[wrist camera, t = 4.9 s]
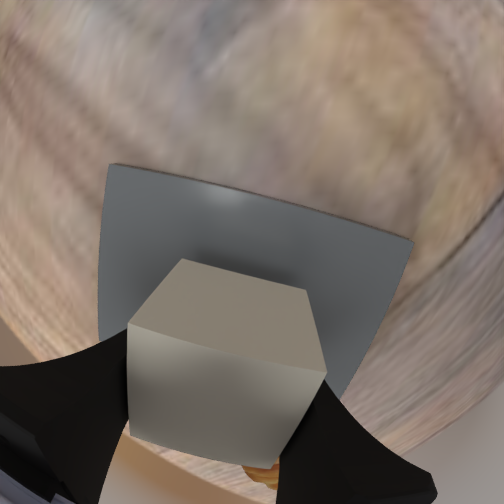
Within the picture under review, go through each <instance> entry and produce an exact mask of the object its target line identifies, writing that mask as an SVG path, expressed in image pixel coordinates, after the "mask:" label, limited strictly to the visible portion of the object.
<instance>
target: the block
mask: <svg viewBox="0 0 504 504" xmlns="http://www.w3.org/2000/svg"><path fill="white" fill-rule="evenodd" d="M326 374H327V369H326V365H325V361H324V357H323V353H322V349H321V345H320V341H319V337H318V333H317V329H316V325H315V321H314V318H313V314H312V310H311V306H310V302H309V299H308V295H307V291H306V290H304V289H300V288H296V287H292V286H288V285H284V284H280V283H276V282H272V281H268V280H264V279H260V278H256V277H252V276H248V275H244V274H240V273H236V272H232V271H228V270H224V269H220V268H217V267H213V266H209V265H205V264H201V263H198V262H194V261H190V260H186V259H183V258H182V259H181V260H180V261H179V262H178V263H177V264H176V266H175V267H174V268H173V269H172V270H171V271H170V273H169V274H168V275H167V276H166V277H165V278H164V280H163V281H162V282H161V283H160V284H159V286H158V287H157V288H156V289H155V290H154V291H153V293H152V294H151V295H150V296H149V297H148V299H147V300H146V301H145V302H144V304H143V305H142V306H141V307H140V308H139V310H138V311H137V312H136V313H135V314H134V316H133V317H132V318H131V319H130V321H129V322H128V328H127V393H128V414H129V429H130V435H131V436H134V437H136V438H139V439H142V440H145V441H148V442H151V443H154V444H157V445H160V446H163V447H166V448H170V449H173V450H176V451H180V452H184V453H187V454H191V455H195V456H199V457H203V458H208V459H212V460H217V461H221V462H226V463H232V464H237V465H243V466H249V467H256V468H263V469H271V467H272V466H273V464H274V463H275V461H276V460H277V458H278V457H279V455H280V454H281V452H282V451H283V449H284V448H285V446H286V444H287V443H288V441H289V440H290V438H291V436H292V435H293V433H294V431H295V430H296V428H297V426H298V425H299V423H300V421H301V420H302V418H303V416H304V414H305V413H306V411H307V409H308V407H309V406H310V404H311V402H312V400H313V398H314V397H315V395H316V393H317V391H318V389H319V387H320V385H321V384H322V382H323V380H324V378H325V376H326Z"/></svg>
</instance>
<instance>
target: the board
mask: <svg viewBox="0 0 504 504" xmlns="http://www.w3.org/2000/svg"><path fill="white" fill-rule="evenodd" d="M413 245H414V242H413V241H411V240H410V239H408V238H405V237H402V236H399V235H396V234H393V233H390V232H387V231H384V230H381V229H378V228H375V227H372V226H369V225H365V224H362V223H359V222H356V221H353V220H349V219H346V218H343V217H339V216H336V215H333V214H329V213H326V212H322V211H319V210H315V209H312V208H308V207H305V206H301V205H298V204H294V203H290V202H287V201H283V200H279V199H275V198H272V197H268V196H264V195H260V194H256V193H252V192H248V191H244V190H240V189H236V188H232V187H228V186H223V185H219V184H215V183H210V182H206V181H202V180H197V179H193V178H188V177H183V176H179V175H174V174H169V173H164V172H159V171H154V170H149V169H144V168H139V167H133V166H128V165H122V164H117V163H115V164H109V167H108V174H107V180H106V187H105V195H104V203H103V211H102V221H101V232H100V246H99V265H98V331H99V341H104V340H106V339H108V338H110V337H112V336H114V335H116V334H117V333H119V332H121V331H123V330H124V329H126V328H128V322H129V321H130V319H131V318H132V317H133V316H134V314H135V313H136V312H137V311H138V310H139V308H140V307H141V306H142V305H143V304H144V302H145V301H146V300H147V299H148V297H149V296H150V295H151V294H152V293H153V291H154V290H155V289H156V288H157V287H158V286H159V284H160V283H161V282H162V281H163V280H164V278H165V277H166V276H167V275H168V274H169V273H170V271H171V270H172V269H173V268H174V267H175V266H176V264H177V263H178V262H179V261H180V260H181V259H182V258H183V259H186V260H190V261H194V262H198V263H201V264H205V265H209V266H213V267H217V268H220V269H224V270H228V271H232V272H236V273H240V274H244V275H248V276H252V277H256V278H260V279H264V280H268V281H272V282H276V283H280V284H284V285H288V286H292V287H296V288H300V289H304V290H306V291H307V295H308V299H309V302H310V306H311V310H312V314H313V318H314V321H315V325H316V329H317V333H318V337H319V341H320V345H321V349H322V353H323V357H324V361H325V365H326V369H327V374H326V376H325V378H324V379H325V381H326V382H327V384H328V385H329V387H330V388H331V390H332V391H333V392H334V394H335V395H336V396H337V398H338V399H339V400H340V398H341V396H342V395H343V393H344V391H345V390H346V388H347V386H348V385H349V383H350V381H351V379H352V378H353V376H354V374H355V372H356V371H357V369H358V367H359V365H360V363H361V361H362V360H363V358H364V356H365V354H366V352H367V350H368V348H369V346H370V344H371V342H372V340H373V338H374V336H375V334H376V332H377V330H378V328H379V326H380V324H381V322H382V320H383V318H384V316H385V314H386V311H387V309H388V307H389V305H390V303H391V300H392V298H393V296H394V293H395V291H396V289H397V286H398V284H399V281H400V279H401V277H402V274H403V272H404V269H405V266H406V264H407V261H408V259H409V256H410V253H411V251H412V248H413Z"/></svg>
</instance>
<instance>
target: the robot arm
mask: <svg viewBox="0 0 504 504" xmlns="http://www.w3.org/2000/svg"><path fill="white" fill-rule="evenodd" d="M128 419H129V414H128V393H127V328H126V329H124V330H123V331H121V332H119V333H117V334H116V335H114V336H112V337H110V338H108V339H106V340H104V341H102V342H100V343H98V344H96V345H94V346H92V347H90V348H87V349H85V350H82V351H80V352H77V353H74V354H71V355H68V356H65V357H61V358H57V359H53V360H49V361H45V362H41V363H35V364H28V365H20V366H3V367H2V366H0V504H98V502H99V498H100V494H101V491H102V487H103V484H104V481H105V478H106V475H107V472H108V468H109V466H110V462H111V460H112V457H113V454H114V452H115V449H116V447H117V444H118V441H119V439H120V436H121V434H122V431H123V429H124V427H125V425H126V423H127V421H128ZM437 494H438V493H437V490H436V487H435V484H434V482H433V479H432V476H431V474H430V473H429V472H427V471H425V470H423V469H421V468H419V467H417V466H415V465H413V464H411V463H409V462H407V461H406V460H404V459H403V458H401V457H400V456H398V455H397V454H395V453H394V452H392V451H391V450H389V449H388V448H387V447H385V446H384V445H383V444H382V443H380V442H379V441H378V440H377V439H375V438H374V437H373V436H372V435H371V434H370V433H369V432H368V431H366V430H365V429H364V428H363V427H362V426H361V425H360V424H359V423H358V422H357V420H356V419H355V418H354V417H353V416H352V415H351V414H350V413H349V412H348V410H347V409H346V408H345V407H344V405H343V404H342V403H341V402H340V400H339V399H338V398H337V396H336V395H335V394H334V392H333V391H332V390H331V388H330V387H329V385H328V384H327V382H326V381H325V379H324V380H323V382H322V384H321V385H320V387H319V389H318V391H317V393H316V395H315V397H314V398H313V400H312V402H311V404H310V406H309V407H308V409H307V411H306V413H305V414H304V416H303V418H302V420H301V421H300V423H299V425H298V426H297V428H296V430H295V431H294V433H293V435H292V436H291V438H290V440H289V441H288V443H287V444H286V446H285V448H284V449H283V451H282V452H281V454H280V455H279V477H278V489H277V498H276V504H431V503H432V502H433V501H434V500H435V499H436V497H437Z"/></svg>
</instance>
